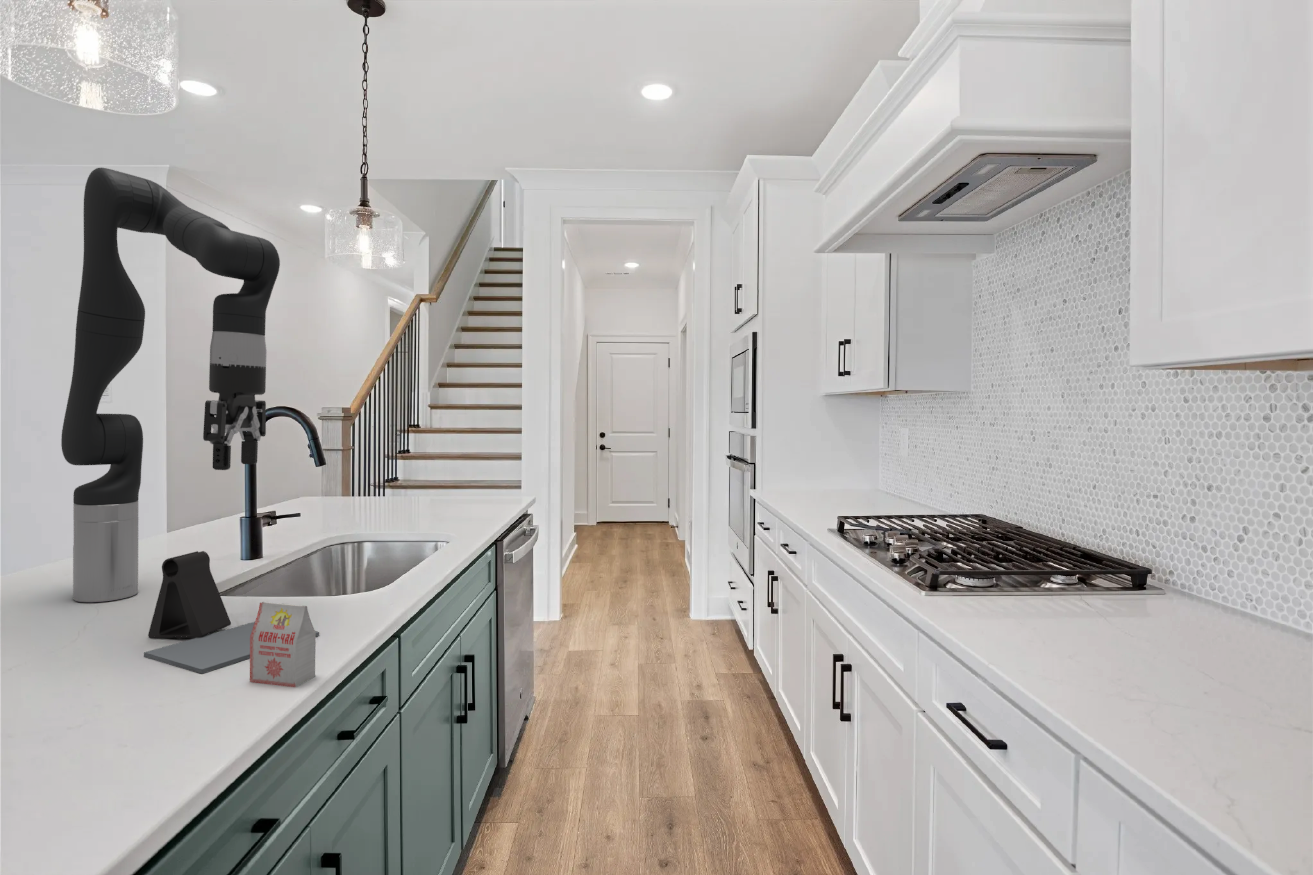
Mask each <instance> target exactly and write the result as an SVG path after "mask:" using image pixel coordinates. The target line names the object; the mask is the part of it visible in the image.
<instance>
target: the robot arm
mask: <svg viewBox="0 0 1313 875" xmlns="http://www.w3.org/2000/svg"><path fill="white" fill-rule="evenodd" d="M118 229H122V230H126V231H127V230H128V231H132V232H137V233H143V234H147V233H148V234H157V235H161V236H165V238H166V239H167V240H168V242H169V243H170V244H171V245H172V246H173V247H174V248H176V250H179V251H180V252H182V253H184V254H186V255H187V256H189V257H192V258H194V259H195V260H196V262H197V263H199V265H201V267H202V268H203V269H204V270H205V271H208V272H210V273H212V274H215V275H217V276H222V277H225V278H230V279H236V280H241V281H243V282H242V285H241V288H240V289H239V291H238V292H237V293H223V294H222V293H221V294H218V295H216V296H215V297H214V299H213V304H212V332H211V339H210V345H209V346H210V347H209V371H208V372H209V373H208V374H209V376H208V378H209V379H208V380H209V381H208V389H209V391H210V392H211V393H213V394H214V393H216V394H218V399H217V400H208V399H207V400H206V401H205V404H204V415H203V416H204V417H203V434H202V437H203V438H202V439H203V441H204V442H209V443H210V444H211V445H212V469H213V470H215V471H227V470H230V469H231V462H232V461H231V460H232V459H231V458H232V456H231V455H232V454H231V453H232V452H231V451H232V445H231V443H232V441H233V437H234V436H235V434H238V433H239V436H240V438H241V447H240V448H241V449H240V455H241V456H240V462H241V464H243V465H256V464H257V463H258V449H259V447H258V446H259V445H258V444H259V442H260V441H261V437H266V433H267V430H266V429H267V428H266V427H267V426H266V424H267V423H266V421H267V417H266V416H267V405H266V404H267V403H266V400H260V399H258V400H257V399H256V396H258V395H259V396H262V395H264V394H265V393H266V385H267V384H266V380H267V344H266V318H267V317H266V316H267V315H266V314H267V308H268V305H269V302H270V299H271V295H272V293H273V289H274V287H275V283H276V281H277V278H278V276H279V272H280V267H281V266H280V265H281V260H280V255H279V253H278V252H279V251H278V250H277V248H276V247H275V245H274V244H273V243H272V242H271V241H270V240H267V239H266V238H263V237H259V236H255V235H251V234H247V233H243V232H239V231H237V230H236V231H235V230H231V229H230V228H229V227H228V226H227V225H226V224H224V223H223V222H221V221H219V220H217V219H215V218H213V217H211V216H209V215H207V214H204V213H203V212H200V211H198V210H195V209H193V208H191V207H189V206H187V205H186V203H183V202H182V201H180V200H179V199H178V198H177V197H176V196H175V195H173V193H171V192H169V191H168V190H167V189H166V188H165V187H163V186H162V185H161V184H159V183H157V182H154V181H153V180H150V179H148V178H144V177H140V176H137V175H133V174H130V173H126V172H122V171H119V170H115V169H111V168H107V167H96V168H94V169H93V170H92V171H91V172H90V173H89V175H88V177H87V179H86V182H85V187H84V193H83V257H82V258H83V259H82V260H83V261H82V271H81V272H82V274H81V284H80V291H79V297H78V298H79V299H78V304H77V305H78V306H77V316H76V325H75V341H74V342H75V343H74V356H73V365H72V366H73V367H72V377H71V383H70V387H69V392H68V398H67V404H66V407H65V408H66V409H65V413H64V419H63V423H62V424H63V425H62V429H61V439H60V440H61V444H60V445H61V451H62V455H63V457H64V460H65V462H67V463H68V464H70V465H73V466H104V465H105V466H106V465H110V466H109V469H108V471H107V472H106V473H105V474H103V475H102V476H100V477H98V478H97V479H95V480H91V482H87V483H84V484H82V485H78V486H77V487H75V489H74V490H73V494H72V495H73V501H72V502H73V510H72V511H73V513H72V514H73V545H72V546H73V547H72V596H73V601H75V602H79V603H100V602H101V603H102V602H108V601H109V602H110V601H116V600H123V599H125V598H130V597H133V596H135V595H137V594H138V593H139V492H140V487H141V483H142V464H143V462H142V461H143V451H144V432H143V427H142V424H141V422H140V420H139V419H138V418H137V417H136V416H135V415H132V414H127V413H98V409H99V405H100V403H101V399H102V397H103V394H104V393H105V391H106V390H107V388H108V386H109V385H110V383H111V382H112V381H113V380H114V379H115V378H116V377H117V375H119V373H120V372H121V371H123V369H124V368H125V367H126V366H127V365H128V364H129V363H130V362H131V361H132V360H133V359H134V357H135V356H136V355H137V353H138V352H139V351H140V349H141V347H142V344H143V338H144V332H145V330H144V329H145V322H146V308H145V304H144V302H143V300H142V298H141V295H140V293H139V292H138V290H137V288H136V286H135V284H134V283H133V282H132V280H131V278H130V276H129V274H128V273H127V271H126V269H125V267H124V265H123V262H122V260H121V258H120V254H119V246H118ZM212 429H213V431H212Z"/></svg>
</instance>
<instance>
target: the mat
mask: <svg viewBox="0 0 1313 875" xmlns="http://www.w3.org/2000/svg"><path fill="white" fill-rule="evenodd" d="M254 624H255V621H253V622H249V623H245V624H242V625H239V626H235V627H230V628H226V629H223V630H218V631H215V632H213V633H210V634H208V635H205V636H203V637H200V638H190V639H187V640H184V641H179V642H176V643H173V644H169V645H166V646H162V647H158V648H154V649H151V650H148V651H144V652H143V657H144V658H148V659H151V660H154V661H158V662H160V663H163V664H168V665H170V666H175V667H178V668H180V669H185V670H188V671H192V672H194V673H197V674H198V673H199V674H201V675H203V674H205V673H209V672H212V671H215V670H218V669H221V668H223V667H228V666H230V665H233V664H236V663H240V662H243V661H245V660H250V636H251V633H252V630H253V627H254ZM315 633H316V638H317V637H319V636H320V631H316V630H315Z"/></svg>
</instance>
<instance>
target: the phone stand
mask: <svg viewBox="0 0 1313 875" xmlns="http://www.w3.org/2000/svg"><path fill="white" fill-rule="evenodd" d="M210 561H211V559H210V556H209V554H208V552H206V551H204V550H202V551H198V550H196V551H193V552H189V553H185V554H181V555H177V556H173V557H169V558H166V559H165V560H164V561H163V563H162V564H161V570H162V582H161V586H160V589H159V593H158V597H157V599H156V602H155V603H156V604H155V608H154V612H153V615H152V618H151V622H150V627H149V630H148V634H147V637H148V638H150V639H156V638H157V639H166V638H167V639H169V638H170V639H171V638H172V639H173V638H177V639H178V638H181V639H182V638H184V639H185V638H190V639H194V638H200V637H203V636H205V635H208V634H212V633H216V632H218V631H221V630H222V629H225V628H227V627H229V626H231V625H232V622H231V619H230V616H229V614H228V612H227V609H226V607H225V604H224V602H223V599H222V597H221V594H220V592H219V589H218V587H217V584H216V582H215V579H214V576H213V574H212V571H211V568H210V563H211V562H210Z"/></svg>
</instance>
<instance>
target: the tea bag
mask: <svg viewBox="0 0 1313 875" xmlns="http://www.w3.org/2000/svg"><path fill="white" fill-rule="evenodd" d="M254 622H255V624H254V627H253V630H252V633H251V636H250V658H249V683H256V684H257V683H258V684H264V685H265V684H266V685H272V686H273V685H274V686H281V687H291V688H298V687H299V686H301V685H302V684H304V683H306V682H308V681H310V680H312V679H313V678H315V677H316V645H317V644H316V643H317V642H316V638H317V637H316V633H315V631H316V630H315V627H314V625H313V622H312V619H311V618H310V614H309V609H308V606H307V605H301V604H289V603H278V602H268V601H266V602H265V601H261V602H259V606H258V611H257V615H256V617H255V621H254Z"/></svg>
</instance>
